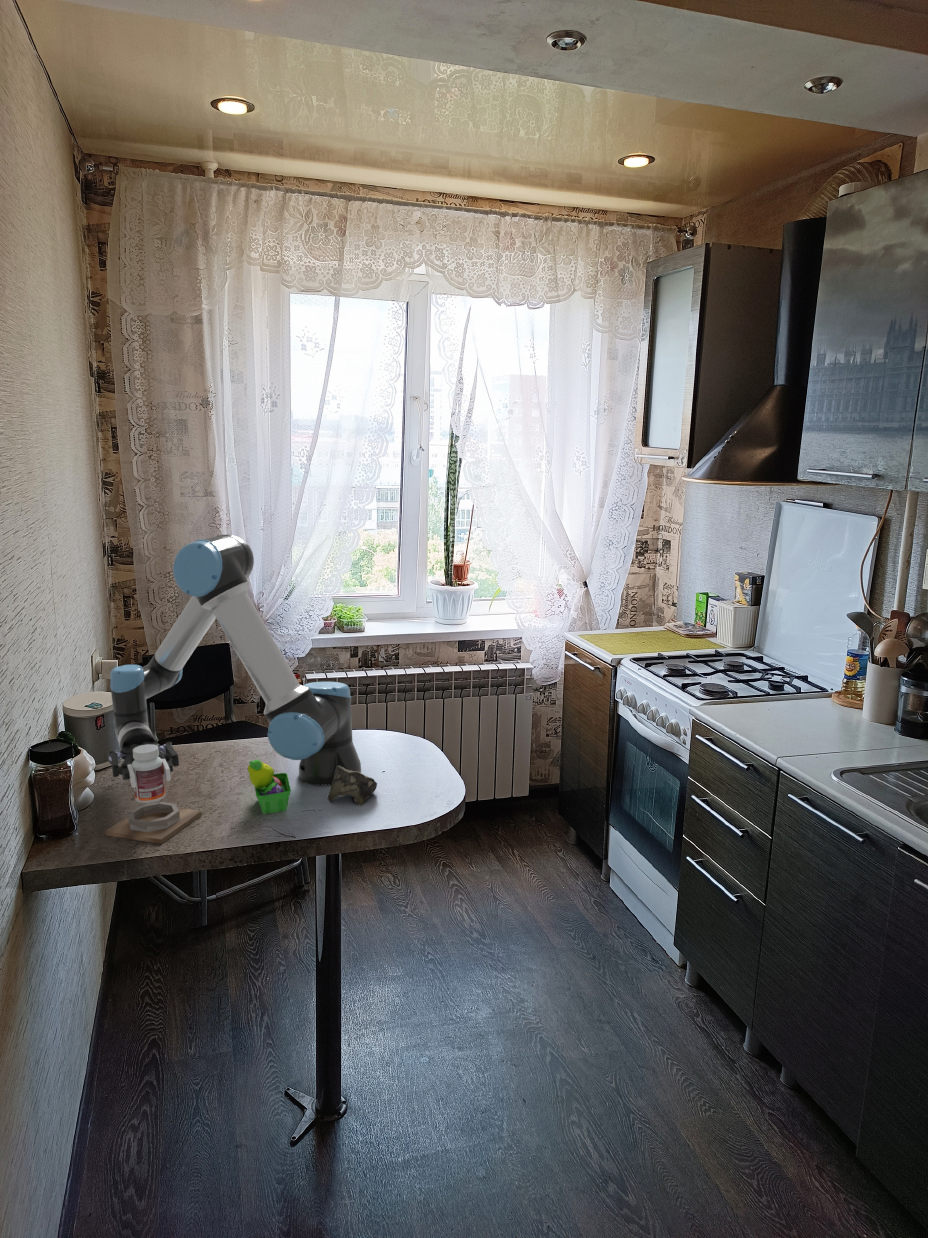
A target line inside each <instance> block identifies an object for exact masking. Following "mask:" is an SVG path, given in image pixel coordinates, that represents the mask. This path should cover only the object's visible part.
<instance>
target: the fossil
mask: <svg viewBox="0 0 928 1238" xmlns="http://www.w3.org/2000/svg"><path fill="white" fill-rule="evenodd" d="M377 786H378V782H376V781H375V779H374V778H372V777H370V776H367V775H365V774H363V773H362V772H361V773H360V772H358V771H352V770H347V769H345V768H344V767H341V766H336V769H335V772H334V777H333V781H332V785H330V788H329V791H328V793H327V800H328V801H329V802H333V801H334V800H335V799H336V798H338V797H340V796H341V797H342V798H343V797H344V796H346V795H349V796H351V797H353V801H354V802H355V803H356V805H358V806H363V804H365V802H366V801H367V799H368V798H370V797H371V796H372V795H373V794H374V792H375V791H376V789H377Z"/></svg>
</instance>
